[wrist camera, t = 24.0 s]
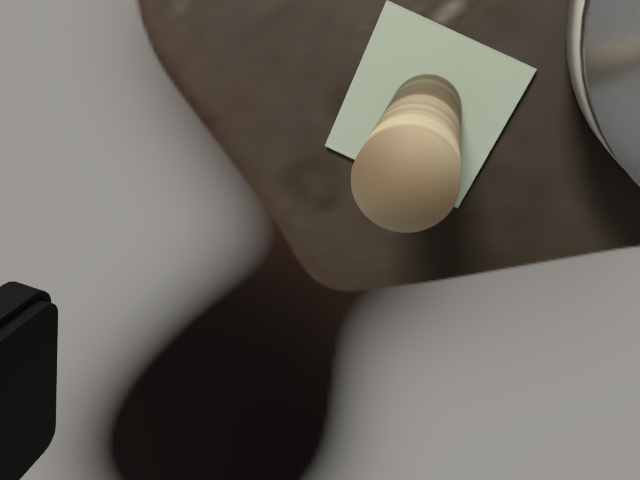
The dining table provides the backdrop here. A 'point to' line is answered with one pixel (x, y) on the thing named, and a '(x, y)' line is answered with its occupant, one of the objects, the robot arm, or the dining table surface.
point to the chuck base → (578, 62)
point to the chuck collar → (614, 76)
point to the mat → (439, 59)
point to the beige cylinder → (412, 158)
